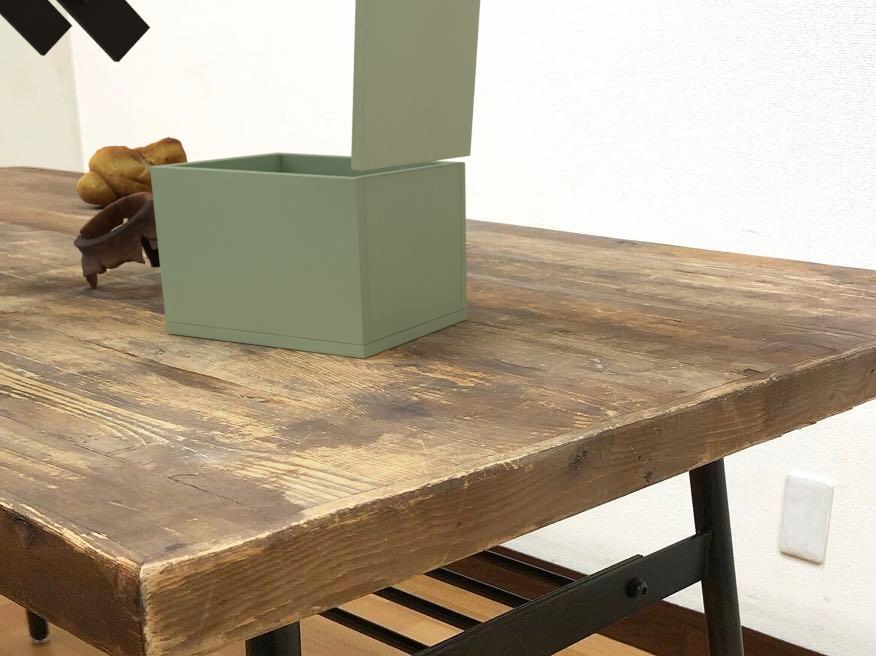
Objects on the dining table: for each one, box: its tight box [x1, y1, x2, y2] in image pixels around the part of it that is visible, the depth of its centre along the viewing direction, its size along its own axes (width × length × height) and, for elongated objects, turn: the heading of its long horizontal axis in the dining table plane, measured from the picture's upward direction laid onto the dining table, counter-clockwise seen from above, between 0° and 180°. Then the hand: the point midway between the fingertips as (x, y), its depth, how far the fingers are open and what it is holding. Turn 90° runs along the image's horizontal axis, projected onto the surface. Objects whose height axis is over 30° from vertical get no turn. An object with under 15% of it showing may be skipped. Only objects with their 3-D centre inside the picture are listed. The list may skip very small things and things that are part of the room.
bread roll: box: [76, 136, 188, 207], centre depth 148 cm, size 13×10×8 cm
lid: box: [350, 0, 481, 171], centre depth 75 cm, size 16×14×1 cm
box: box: [150, 152, 468, 359], centre depth 84 cm, size 16×14×11 cm
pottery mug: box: [73, 192, 160, 289], centre depth 99 cm, size 12×10×8 cm
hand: (92, 43), depth 74 cm, fingers open, 13 cm apart
